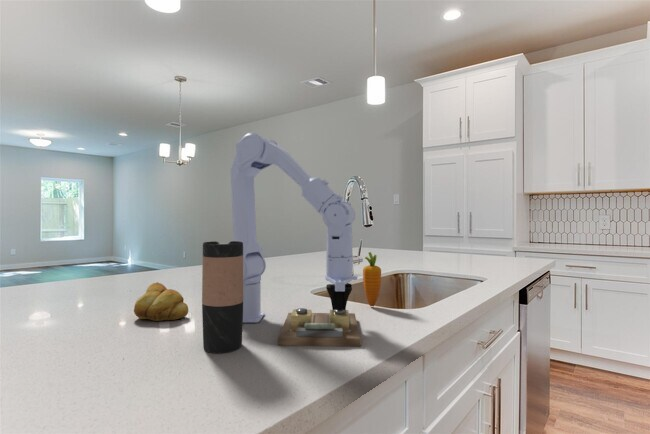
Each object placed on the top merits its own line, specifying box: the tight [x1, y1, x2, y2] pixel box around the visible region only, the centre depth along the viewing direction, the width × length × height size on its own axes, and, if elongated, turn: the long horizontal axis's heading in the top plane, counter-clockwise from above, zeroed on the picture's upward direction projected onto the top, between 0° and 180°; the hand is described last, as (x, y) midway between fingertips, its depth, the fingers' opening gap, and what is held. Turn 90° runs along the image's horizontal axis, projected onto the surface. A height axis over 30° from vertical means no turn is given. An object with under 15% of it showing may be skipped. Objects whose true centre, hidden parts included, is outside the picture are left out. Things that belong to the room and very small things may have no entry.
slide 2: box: [329, 309, 350, 331], centre depth 79 cm, size 4×5×4 cm
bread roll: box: [133, 282, 189, 322], centre depth 90 cm, size 13×10×8 cm
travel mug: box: [201, 240, 244, 354], centre depth 71 cm, size 8×8×20 cm
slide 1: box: [291, 307, 313, 330], centre depth 79 cm, size 4×5×4 cm
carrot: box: [362, 251, 382, 307], centre depth 102 cm, size 5×5×15 cm
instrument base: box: [277, 312, 362, 347], centre depth 81 cm, size 16×18×4 cm
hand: (338, 317), depth 83 cm, fingers closed
